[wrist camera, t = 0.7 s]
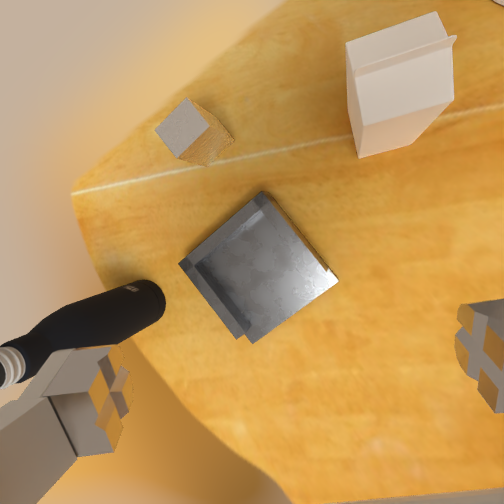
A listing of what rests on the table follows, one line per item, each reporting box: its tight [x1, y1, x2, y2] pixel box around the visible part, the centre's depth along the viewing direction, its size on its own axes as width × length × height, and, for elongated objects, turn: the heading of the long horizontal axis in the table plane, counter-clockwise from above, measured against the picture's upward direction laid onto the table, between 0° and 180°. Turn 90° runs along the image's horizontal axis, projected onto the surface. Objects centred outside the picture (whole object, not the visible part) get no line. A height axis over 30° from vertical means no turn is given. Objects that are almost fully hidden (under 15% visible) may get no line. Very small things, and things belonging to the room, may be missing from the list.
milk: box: [345, 11, 457, 159], centre depth 33 cm, size 6×6×22 cm
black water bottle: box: [0, 280, 166, 389], centre depth 40 cm, size 6×6×30 cm
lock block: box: [155, 97, 235, 167], centre depth 45 cm, size 4×5×9 cm
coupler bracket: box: [178, 191, 339, 344], centre depth 47 cm, size 14×14×4 cm
